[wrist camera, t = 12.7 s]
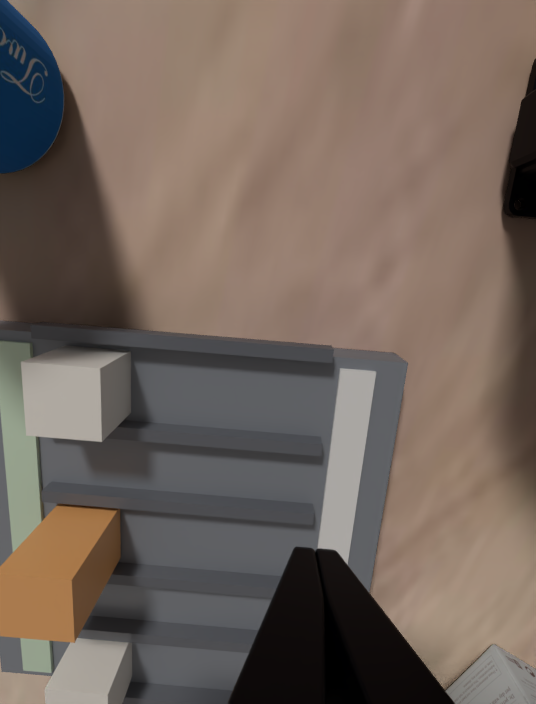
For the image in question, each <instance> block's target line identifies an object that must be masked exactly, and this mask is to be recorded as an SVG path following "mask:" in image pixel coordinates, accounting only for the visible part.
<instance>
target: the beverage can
mask: <svg viewBox="0 0 536 704" xmlns="http://www.w3.org/2000/svg"><path fill="white" fill-rule="evenodd" d="M63 112H64V89H63V83H62V78H61V74H60V71H59V68H58V65H57V62H56V60H55V58H54V56H53V53H52V51H51V50H50V48H49V46H48V45H47V43H46V41H45V40H44V39H43V37H42V36H41V35H40V34H39V32H38V31H37V30H36V29H35V28H34V27H33V26H32V25H31V24H30V23H29V22H28V21H27V20H26V19H25V18H24V17H23V16H22V15H21V14H20V13H19V12H18V11H17V10H16V9H15V8H14V7H13V6H12V5H11V4H10V3H9V2H8V1H7V0H0V173H11V172H16V171H19V170H22V169H25V168H27V167H29V166H31V165H32V164H34V163H35V162H37V161H38V160H39V159H40V158H42V157H43V156H44V155H45V154H46V153H47V151H48V150H49V149H50V147H51V146H52V144H53V143H54V141H55V139H56V137H57V135H58V132H59V130H60V127H61V123H62V119H63Z"/></svg>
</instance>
